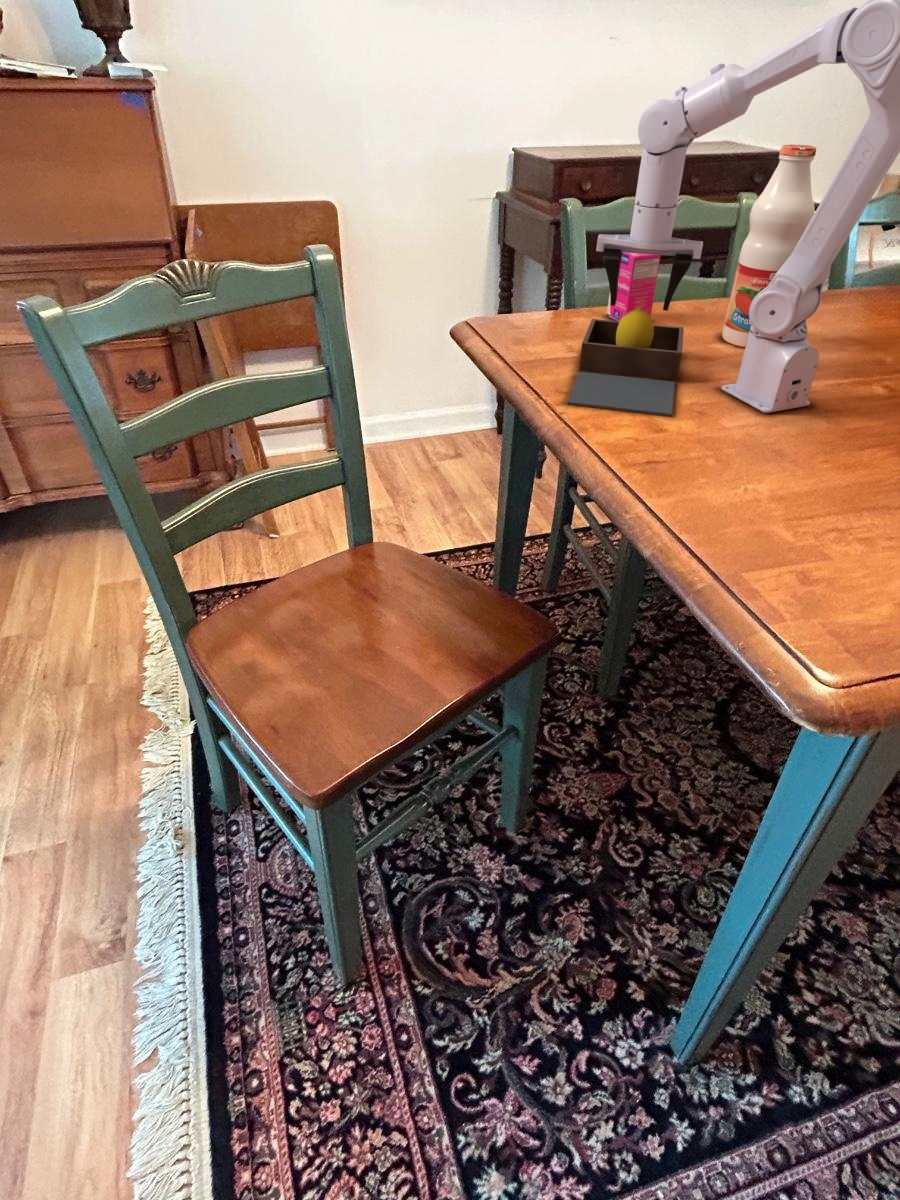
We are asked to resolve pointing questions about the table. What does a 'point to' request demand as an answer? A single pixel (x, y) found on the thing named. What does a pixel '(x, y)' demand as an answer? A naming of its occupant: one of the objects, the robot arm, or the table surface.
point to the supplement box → (635, 284)
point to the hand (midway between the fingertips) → (639, 306)
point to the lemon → (635, 329)
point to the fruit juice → (771, 235)
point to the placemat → (623, 393)
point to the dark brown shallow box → (631, 353)
